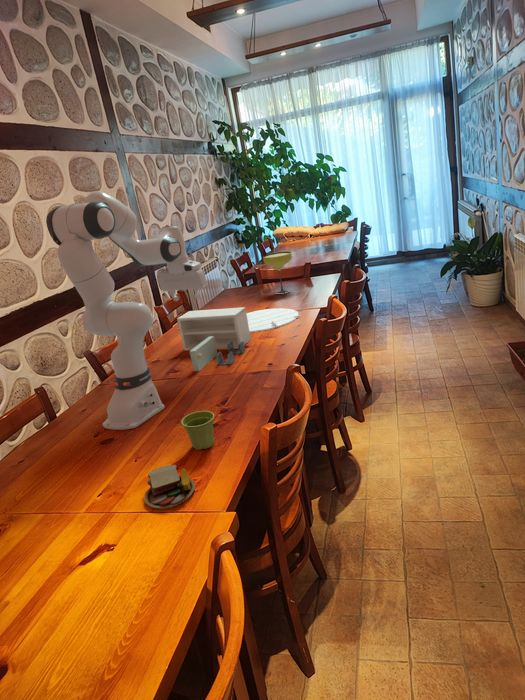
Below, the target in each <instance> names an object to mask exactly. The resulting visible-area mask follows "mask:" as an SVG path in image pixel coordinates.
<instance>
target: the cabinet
mask: <svg viewBox="0 0 525 700" xmlns="http://www.w3.org/2000/svg"><path fill="white" fill-rule="evenodd" d="M246 313H247V309H246V306H245V307H242V306H241V307H229V308H216V309H215V308H214V309H202V310H201V309H200V310H188V311H187V312H186V313H184V314H182V315H181V316H178V317H177V318H176V319H177V324H178V328H179V332H180V333H179V334H180V337H181V341H182V346H183V351H191V350H192V349H193V348H195V347H196V346H197V345H198V344H200V343H201V342H202V341H204V340H205V339H206V338H208V337H209V336H214V339H215V344H216V349H217V350H228V346H227V345H228V344H229V343H230V342H233V347H234V350H239V346H238V345H239V344H240V343H241V342H244V345H245V344H246V343H247V344H248V343H249V342H251V340H252V337H251V332H250V331H249V326H248V320H247V314H246ZM247 344H246V345H247ZM246 345H245V346H246Z"/></svg>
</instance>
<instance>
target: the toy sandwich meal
mask: <svg viewBox="0 0 525 700" xmlns="http://www.w3.org/2000/svg"><path fill="white" fill-rule="evenodd" d="M177 470H178V466H177V465H176V464H169V465H163V466H159V467H157V468H155V469H152V470H151V471H149V472H148V473H147V478H148V479H147V481H146V482H147V484H148V485H149V486H150V487H149V488H148V489H147V491H146V492H145V494H144V499H143V500H144V503H146V505H147V506H149V507H150V508H153V509H157V510H167V509H168V508H169V509H173V508H176V507H178V506H180V505H181V503H182V502H183V503H185V502H186V501H188V499H189V498H190V497H191V496H192V494H193V493H194V491H195V487H196V484H195V481H194V480H193V479H191V478H190V477H189V475H188V473H187V470H186V469H185V468H182V469H181V473H180V475H179V473H178V471H177ZM185 500H186V501H185ZM184 501H185V502H184ZM183 503H182V504H183ZM179 504H180V505H179ZM177 505H178V506H177ZM175 506H176V507H175ZM172 507H173V508H172ZM169 509H168V510H169Z"/></svg>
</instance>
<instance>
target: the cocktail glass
mask: <svg viewBox="0 0 525 700" xmlns="http://www.w3.org/2000/svg"><path fill="white" fill-rule="evenodd" d="M292 257H293V256H292V253H291V252H290V251H280V252H274V253H269V254H265V255H264V256H263V257H262V259H263V263H264V264H265V265H267V266H270V267H272V268H275V269H276V271H278V274H279V281H280V290H278V291H279V292H278V291H276V292H277V293H285V292H288V291H287V290H288V289H285V290H284V287H283V282H282V277H281V270H282V268H283V267H284V266H285V265H286V264H288V263H289V262H290V261H291V259H292Z"/></svg>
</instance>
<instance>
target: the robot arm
mask: <svg viewBox="0 0 525 700" xmlns="http://www.w3.org/2000/svg"><path fill="white" fill-rule="evenodd" d="M45 219H46V227H47V232H48V233H49V235H50V237H51V238H52V239H53V242H54V243H55V244H56V245H57V246H58V248H57V252H56V253H57V258H58V260H59V262H60V264H61V266H62V269H63V270H64V273H65V274H66V276H67V278H68V279H69V280H70V282H71V283H72V284H73V286H74V288H75V289H76V291H77V293H78V294H79V296H80V297H81V299H82V300H83V304H84V307H85V310H84V312H83V314H82V318H81V321H82V326H83V328H84V330H85V331H86V332H87V333H88V334H92V335H95V336H101V337H110V336H111V337H112V336H113V337H114V336H116V337H117V346H116V347H115V348H114V349H112V352H111V354H110V359H111V365H112V367H113V370H114V373H115V376H114V381H113V380H112V381H111V380H110V381H109V383H108V387H110V388H115V389H114V391H113V394H112V396H111V399H110V401H109V403H108V405H107V407H106V412H107V418H106V419H105V421H104V422H102V427H103V428H104V429H107V430H115V431H117V430H118V431H119V430H120V431H122V430H129V429H135V428H137V427H139V426H140V425H142V424H143V423H144V422H146V421H148V420H150V419H151V418H152V417H153V416H155V415H156V414H158V413H160V412H161V411H162V410H164V409H165V408H166V407H165V405H164V403H163V402H162V400H161V398H160V395H159V393H158V389H157V387H156V385H155V384H154V383H153V381H152V374H151V373H152V372H151V370H150V367H148V364H147V359H146V356H145V351H144V341H145V336H146V334H147V333H148V332H149V331H150V329H151V327H152V325H153V321H154V316H153V315H154V314H153V312H152V310H151V308H150V307H149V306H148V305H147V304H146V303H143V302H136V301H123V302H115V301H114V300H113V299H112V297H111V296H112V295H113V294H114V291H115V285H116V284H115V281H114V279H113V277H112V276H111V274H110V272H109V271H108V270H107V268H106V266H105V265H104V263H103V262H102V260H101V258H100V257H99V255H98V254H97V253H96V252H95V250H94V248H93V247H94V246H93V240H94V241H95V240H97V239H98V240H100V239H105V238H108V239H109V240H110V241H111V242H112V243H114V244H115V246H117V247H118V248H120V249H121V250H122V251H123V252H124V253H126V254H127V255H128V256H129V257H130V259H131V260H132V262H134V264H136V265H137V266H138V267H140V268H143V267H147V266H154V265H161V264H166V265H167V266H166V268H165V267H164V268H160V269H159V270H158V271H157V275H158V280H159V281H158V283H159V288H160V290H161V291H162V292H169V295H170V296H171V297H172V298H173V301H174V302H178V301H179V300H180V299H179V295H176V293H175V292H176V291H183V290H193V291H194V292H195V293H194V295H192V297H193V300H199V293H200V289H202V288H205V287H206V286H207V277H206V275H205V271H204V270H203V269H202V263H201V262H200V261H195V260H191V259H189V256H188V254H187V251H186V250H187V248H186V247H187V246H186V241H185V237H184V235H183V232H182V229H181V227H180V226H178V225H167V226H162V227H161V228H160V233H159V235H158V236H157V237H156V238H149V239H135V237H133V235H134V234H135V233H136V230H137V228H138V227H137V226H138V218H137V215H136V214H135V213H134V211H133V210H132V208H129V206H127V205H126V204H125V203H123V202H121V201H120V200H119V199H118V198H116V197H113V196H112V195H110V194H108V193H105V192H103V191H100V190H98V191H97V190H96V191H92V192H91V193H89V194H88V195H86V197H85V199H84V201H83V203H77V202H76V203H70V204H67V205H64V206H58V207H55V208H53V209H52V210H50V211H49V212H48V213H47V215H46V218H45Z"/></svg>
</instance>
